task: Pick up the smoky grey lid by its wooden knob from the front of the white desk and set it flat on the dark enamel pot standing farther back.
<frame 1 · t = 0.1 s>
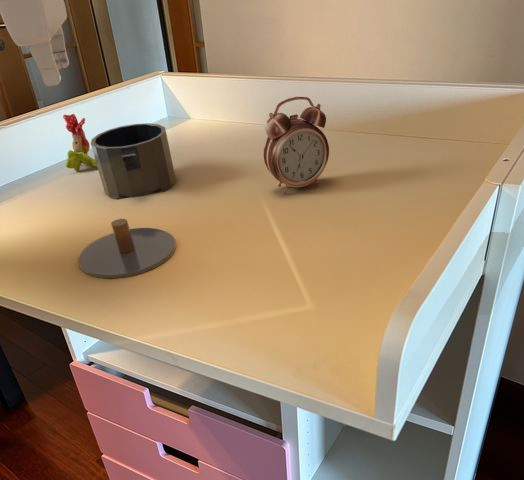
hand: (58, 75, 67), 26 cm above the table, tool pointing down, fingers open, 8 cm apart
lid: (128, 253, 85), point 1 cm above the table
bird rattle: (84, 167, 121), on the table
alarm clock: (299, 188, 99), on the table
pot: (140, 185, 108), on the table
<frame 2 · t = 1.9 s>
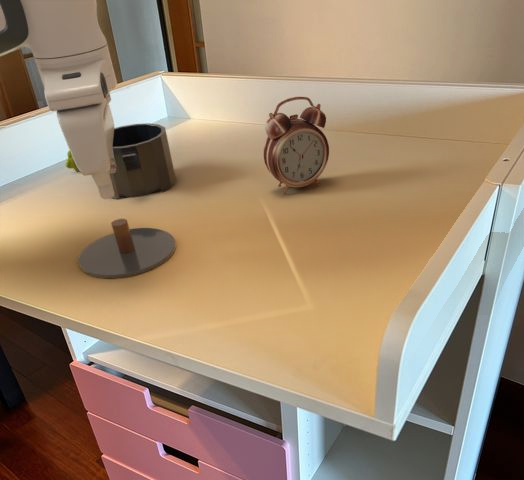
hand: (110, 183, 78), 11 cm above the table, tool pointing down, fingers open, 8 cm apart
nothing on the table moved.
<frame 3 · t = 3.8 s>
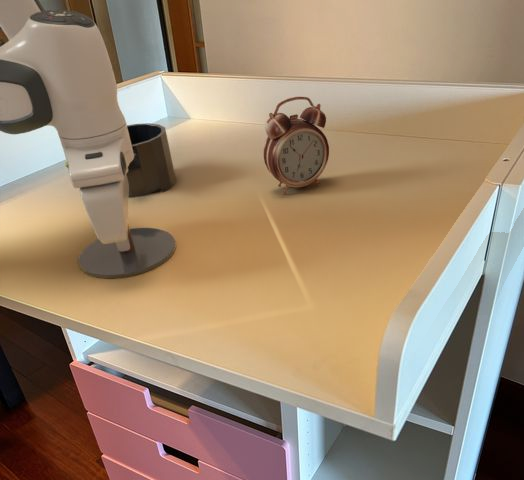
hand: (125, 243, 84), 2 cm above the table, tool pointing down, fingers closed on lid, 2 cm apart
lid: (128, 253, 85), point 1 cm above the table, touching gripper
everything else where it was.
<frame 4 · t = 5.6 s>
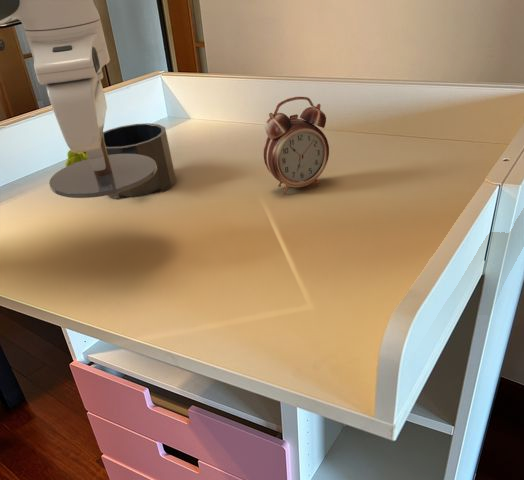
hand: (100, 164, 76), 14 cm above the table, tool pointing down, fingers closed on lid, 2 cm apart
lid: (104, 176, 77), point 13 cm above the table, touching gripper
everything else where it was.
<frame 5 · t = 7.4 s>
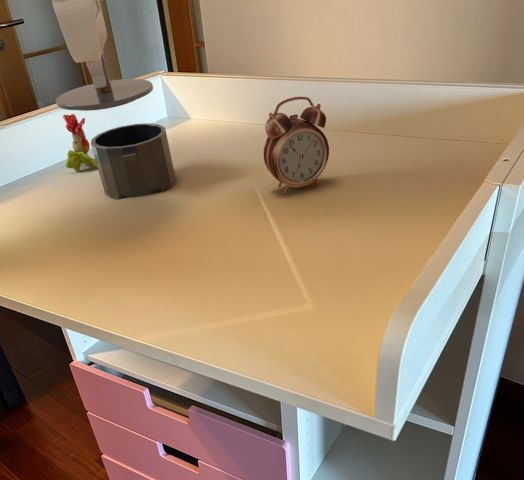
hand: (101, 83, 84), 21 cm above the table, tool pointing down, fingers closed on lid, 2 cm apart
lid: (105, 95, 85), point 19 cm above the table, touching gripper
everything else where it was.
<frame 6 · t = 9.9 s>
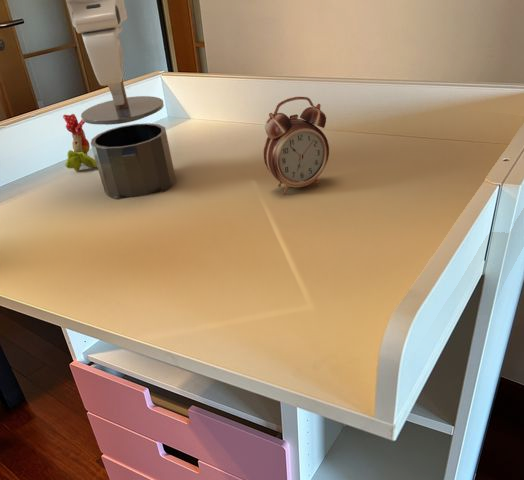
hand: (120, 101, 99), 15 cm above the table, tool pointing down, fingers closed on lid, 2 cm apart
lid: (123, 111, 100), point 14 cm above the table, touching gripper
everything else where it was.
when the fingers open (11 cm above the table, at t = 11.2 s): lid stays where it is, resting on pot.
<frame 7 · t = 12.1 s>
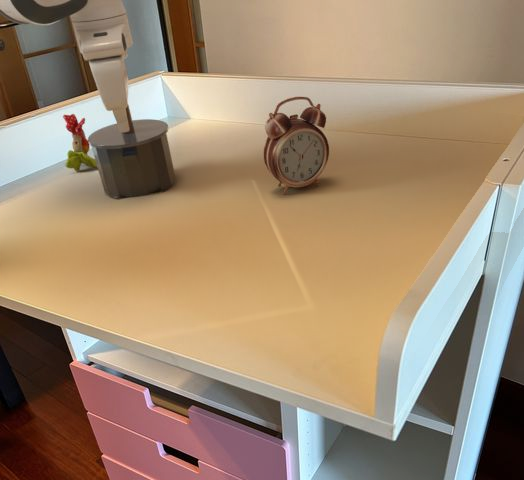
hand: (125, 123, 101), 12 cm above the table, tool pointing down, fingers open, 8 cm apart
lid: (128, 135, 102), point 9 cm above the table, touching pot
everything else where it was.
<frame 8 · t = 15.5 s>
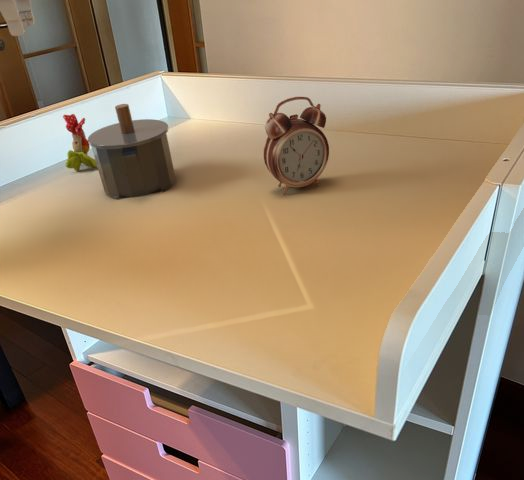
hand: (24, 30, 81), 29 cm above the table, tool pointing down, fingers open, 8 cm apart
nothing on the table moved.
at the end: lid 0.1 cm off-centre on the pot, point 9.5 cm above the pot's base; lid tilted 0° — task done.
